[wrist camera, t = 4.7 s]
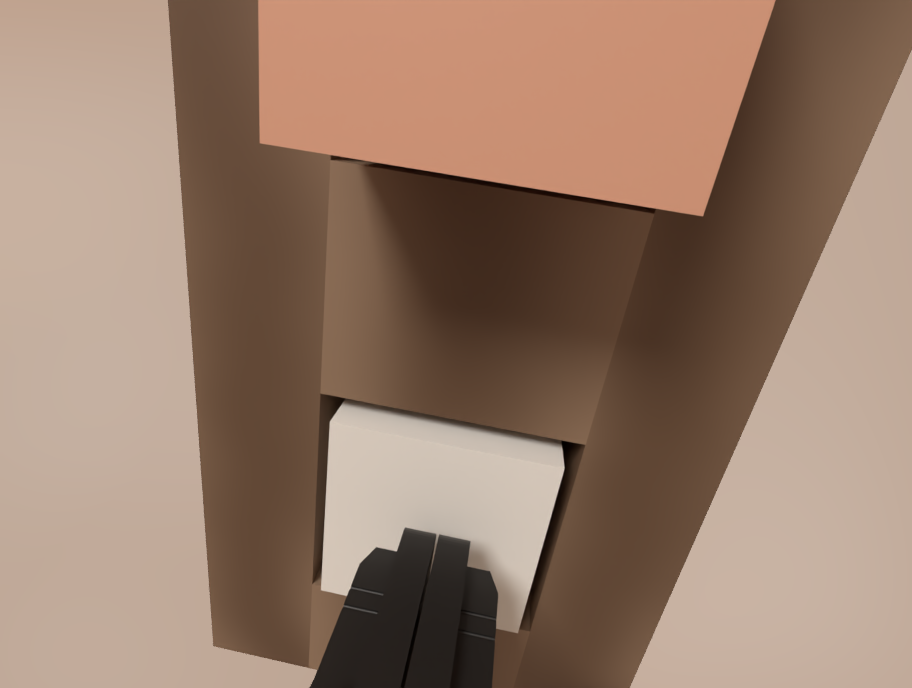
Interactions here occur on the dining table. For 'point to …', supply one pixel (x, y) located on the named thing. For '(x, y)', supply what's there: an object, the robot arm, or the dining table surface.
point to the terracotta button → (516, 89)
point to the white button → (438, 494)
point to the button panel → (500, 329)
